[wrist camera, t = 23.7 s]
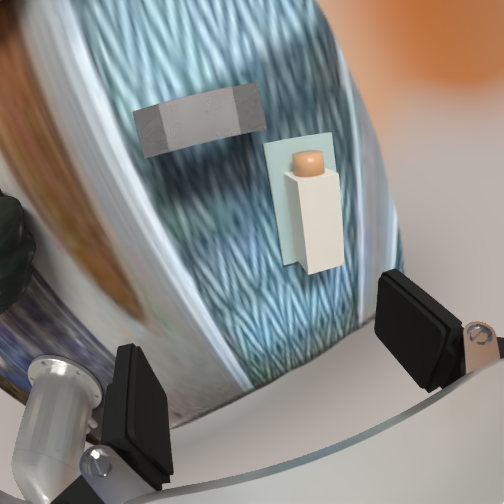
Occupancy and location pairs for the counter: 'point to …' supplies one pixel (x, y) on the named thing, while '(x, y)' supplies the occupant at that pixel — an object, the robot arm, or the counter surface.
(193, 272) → the counter surface
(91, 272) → the counter surface
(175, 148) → the housing
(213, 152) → the counter surface
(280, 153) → the mat
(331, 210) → the plug
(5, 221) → the squash
